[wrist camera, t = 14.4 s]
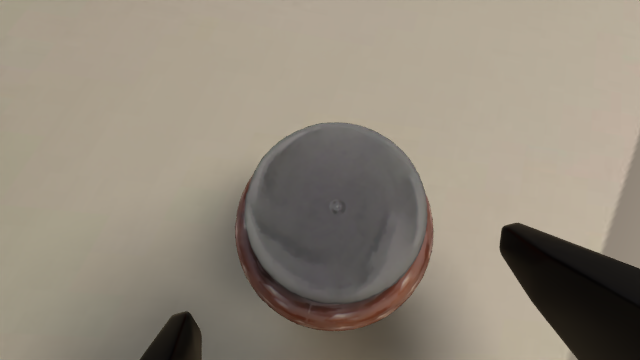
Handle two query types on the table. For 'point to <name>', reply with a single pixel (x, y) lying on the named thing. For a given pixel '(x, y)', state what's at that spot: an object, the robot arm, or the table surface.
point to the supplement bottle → (334, 227)
